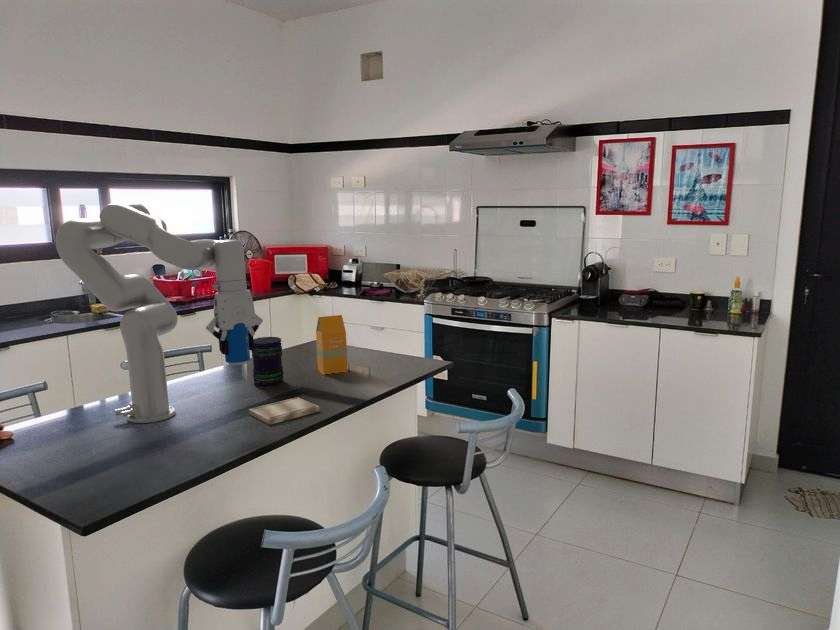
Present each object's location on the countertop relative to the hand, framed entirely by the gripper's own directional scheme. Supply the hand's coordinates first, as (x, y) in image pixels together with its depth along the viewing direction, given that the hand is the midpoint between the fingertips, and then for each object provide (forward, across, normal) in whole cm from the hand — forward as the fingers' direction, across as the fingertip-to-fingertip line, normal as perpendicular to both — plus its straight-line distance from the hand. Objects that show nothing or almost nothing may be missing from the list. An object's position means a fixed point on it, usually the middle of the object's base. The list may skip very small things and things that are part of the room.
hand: (237, 351), depth 169 cm
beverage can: (+3, 0, 0) cm, 3 cm away
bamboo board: (+20, +12, -2) cm, 23 cm away
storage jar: (+20, +22, +28) cm, 41 cm away
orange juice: (+20, +46, +27) cm, 57 cm away
